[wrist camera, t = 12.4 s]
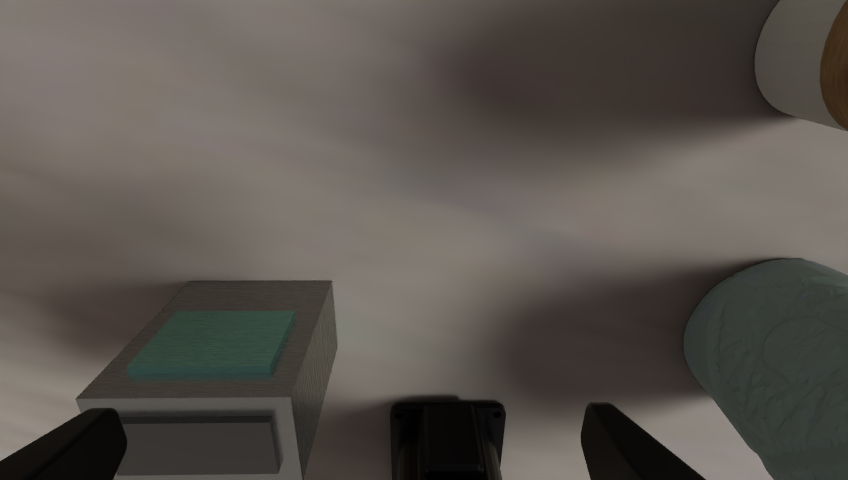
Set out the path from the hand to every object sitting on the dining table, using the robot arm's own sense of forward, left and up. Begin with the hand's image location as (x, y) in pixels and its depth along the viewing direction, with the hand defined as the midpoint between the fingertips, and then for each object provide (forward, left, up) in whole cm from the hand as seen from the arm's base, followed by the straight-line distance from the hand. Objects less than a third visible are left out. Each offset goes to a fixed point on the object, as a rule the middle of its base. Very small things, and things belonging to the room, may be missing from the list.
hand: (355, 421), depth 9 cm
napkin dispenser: (-6, +6, -13) cm, 16 cm away
